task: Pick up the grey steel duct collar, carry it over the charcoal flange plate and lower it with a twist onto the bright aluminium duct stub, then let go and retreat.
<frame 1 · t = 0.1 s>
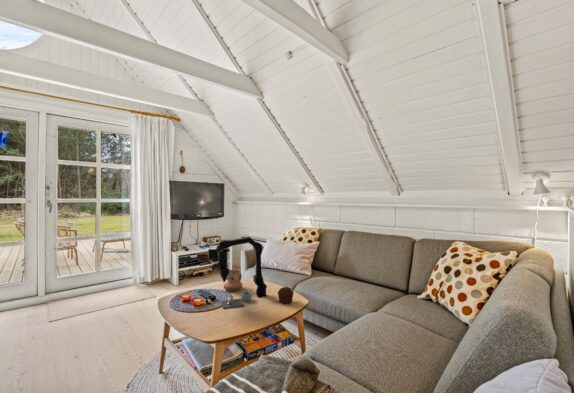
hand: (223, 280, 203), 15 cm above the table, fingers open, 9 cm apart
flange plate: (232, 304, 197), on the table
ceramic jug: (233, 289, 227), on the table
collar: (246, 300, 204), on the table
muffin: (285, 302, 201), on the table
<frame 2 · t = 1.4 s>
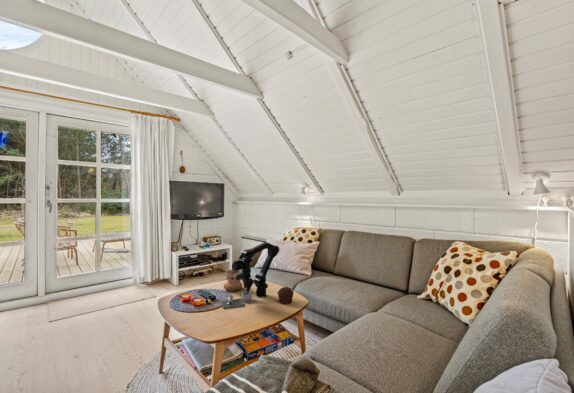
hand: (246, 290, 204), 7 cm above the table, fingers open, 9 cm apart
nothing on the table moved.
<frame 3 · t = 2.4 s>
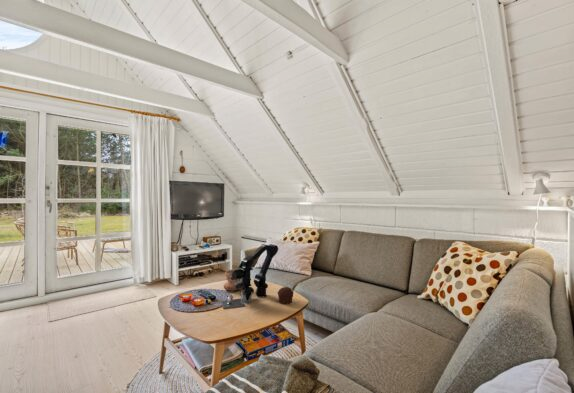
hand: (246, 298, 204), 1 cm above the table, fingers closed on collar, 6 cm apart
collar: (246, 300, 204), on the table, touching gripper
everything else where it was.
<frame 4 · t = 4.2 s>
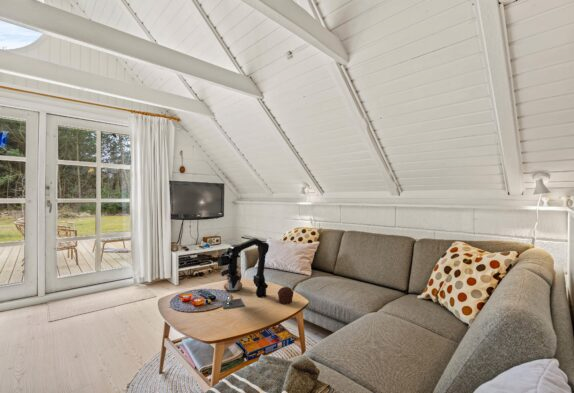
hand: (232, 286, 197), 12 cm above the table, fingers closed on collar, 6 cm apart
collar: (232, 288, 197), point 11 cm above the table, touching gripper
everything else where it was.
when the fingers open (3 cm above the table, at t = 6.2 s): collar stays where it is, resting on flange plate.
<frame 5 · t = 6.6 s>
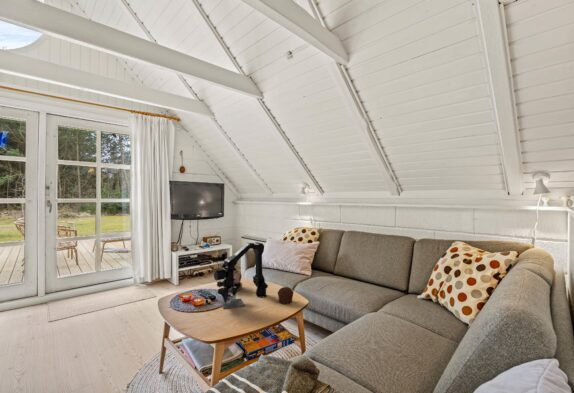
hand: (229, 300, 196), 3 cm above the table, fingers open, 9 cm apart
collar: (229, 303, 196), point 1 cm above the table, touching flange plate
everything else where it was.
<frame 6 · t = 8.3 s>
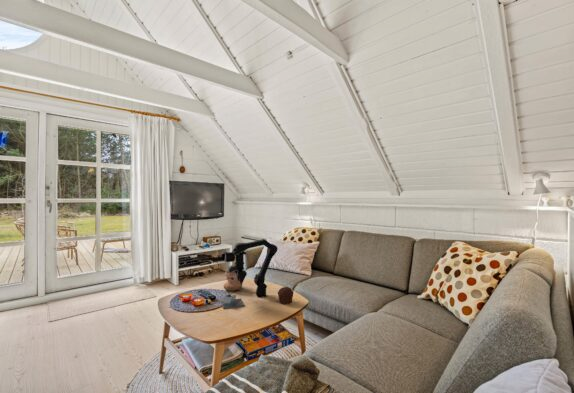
hand: (239, 282, 207), 12 cm above the table, fingers open, 9 cm apart
nothing on the table moved.
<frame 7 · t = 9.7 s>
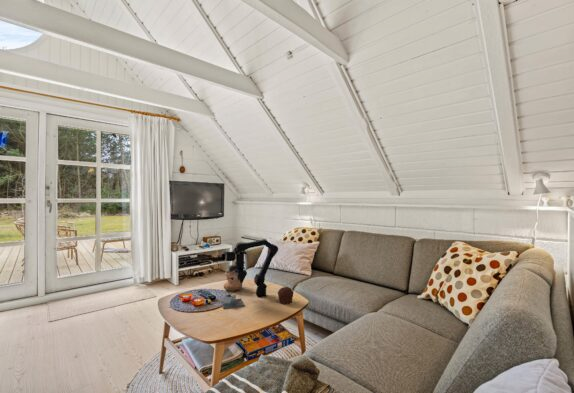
hand: (240, 281, 207), 12 cm above the table, fingers open, 9 cm apart
nothing on the table moved.
at the end: collar 0.0 cm from the target spot, point 1.0 cm above the table; collar tilted 0°; the gripper is holding nothing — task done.
